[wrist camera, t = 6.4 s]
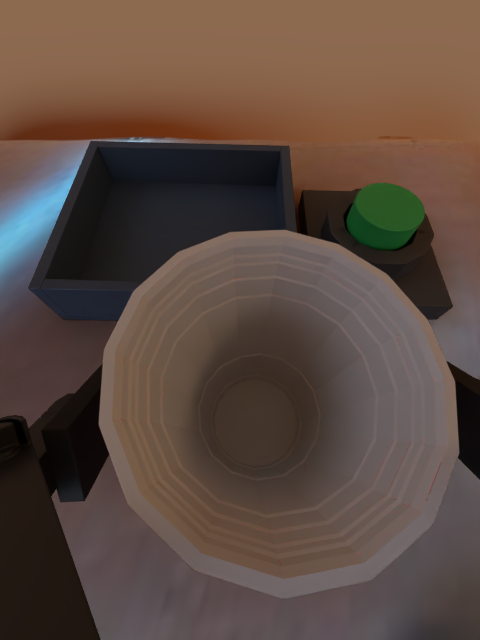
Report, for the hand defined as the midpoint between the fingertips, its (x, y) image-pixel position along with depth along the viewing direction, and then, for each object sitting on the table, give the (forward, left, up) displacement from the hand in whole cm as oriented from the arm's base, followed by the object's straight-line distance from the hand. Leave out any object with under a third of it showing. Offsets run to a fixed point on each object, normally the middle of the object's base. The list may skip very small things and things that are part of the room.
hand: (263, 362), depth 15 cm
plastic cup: (0, -2, -6) cm, 6 cm away
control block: (+9, +12, -6) cm, 16 cm away
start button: (+9, +12, -2) cm, 15 cm away
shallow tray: (-6, +13, -6) cm, 15 cm away
